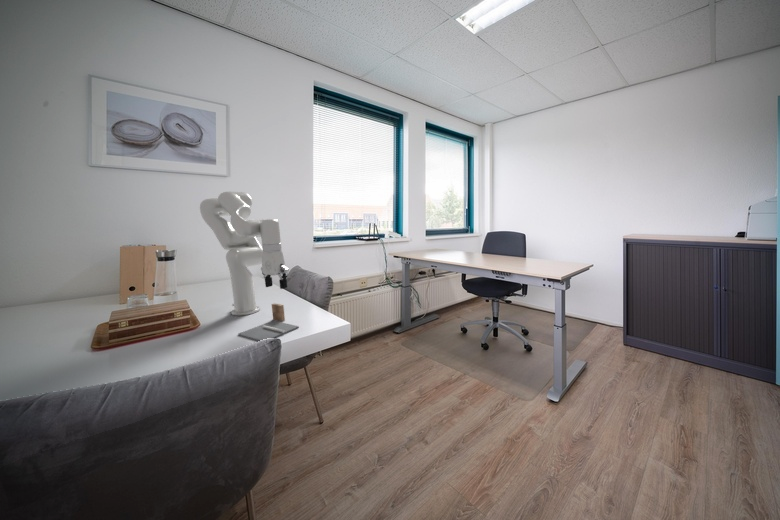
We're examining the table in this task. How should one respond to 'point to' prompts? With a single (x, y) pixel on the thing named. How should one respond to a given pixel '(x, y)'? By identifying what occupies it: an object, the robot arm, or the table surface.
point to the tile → (278, 312)
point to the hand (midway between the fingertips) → (276, 287)
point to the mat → (268, 330)
